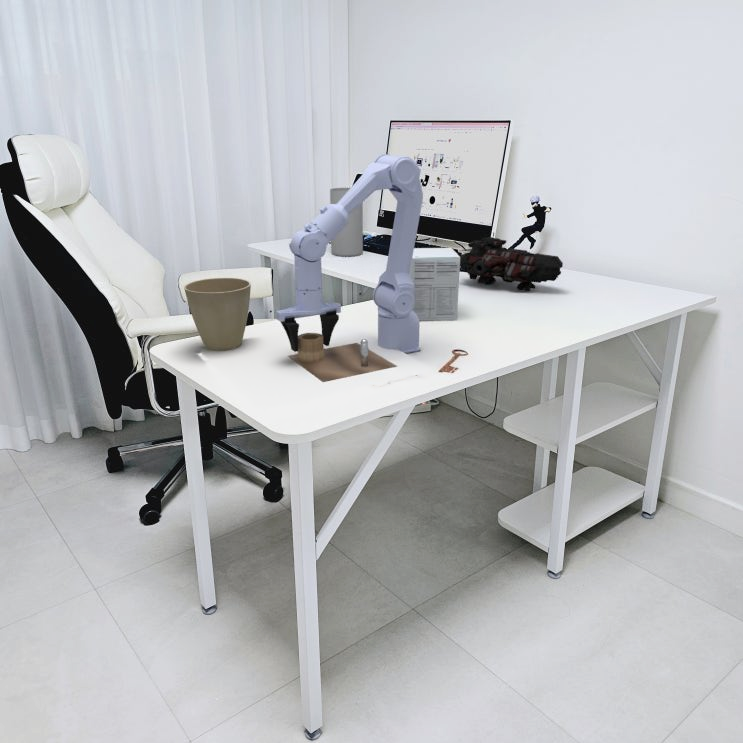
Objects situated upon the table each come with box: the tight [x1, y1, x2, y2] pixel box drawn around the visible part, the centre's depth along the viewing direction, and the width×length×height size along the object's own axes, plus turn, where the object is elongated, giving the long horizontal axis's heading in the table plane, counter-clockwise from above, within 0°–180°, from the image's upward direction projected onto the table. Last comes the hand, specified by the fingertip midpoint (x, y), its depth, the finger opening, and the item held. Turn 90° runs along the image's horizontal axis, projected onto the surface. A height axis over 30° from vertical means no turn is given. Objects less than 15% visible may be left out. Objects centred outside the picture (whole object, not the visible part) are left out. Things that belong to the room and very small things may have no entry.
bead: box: [297, 332, 325, 362], centre depth 146 cm, size 6×6×5 cm
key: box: [438, 348, 469, 374], centre depth 149 cm, size 6×1×15 cm
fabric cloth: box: [287, 342, 398, 383], centre depth 146 cm, size 18×18×2 cm
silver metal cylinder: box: [360, 338, 369, 367], centre depth 142 cm, size 2×2×6 cm
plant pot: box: [183, 277, 252, 352], centre depth 153 cm, size 15×15×16 cm
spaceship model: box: [460, 236, 564, 292], centre depth 210 cm, size 19×32×15 cm, turn 53°
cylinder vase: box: [329, 187, 364, 258], centre depth 258 cm, size 12×12×25 cm
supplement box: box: [409, 247, 461, 322], centre depth 181 cm, size 13×13×18 cm
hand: (310, 347), depth 146 cm, fingers open, 7 cm apart
